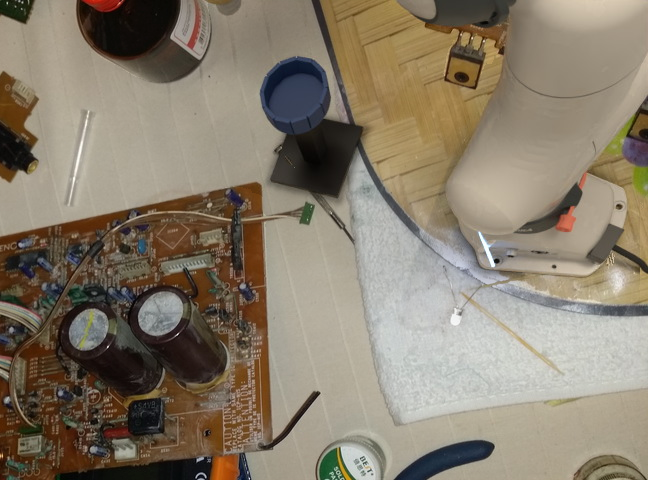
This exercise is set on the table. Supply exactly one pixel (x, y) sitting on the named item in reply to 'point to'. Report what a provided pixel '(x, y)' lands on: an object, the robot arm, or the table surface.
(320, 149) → the stand
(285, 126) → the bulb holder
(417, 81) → the table surface
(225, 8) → the light bulb
